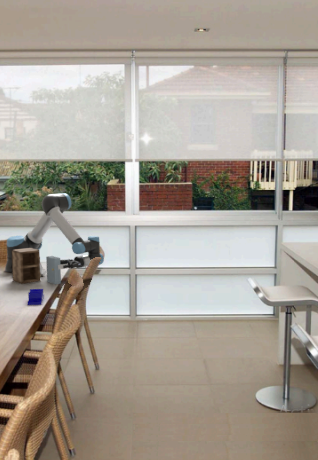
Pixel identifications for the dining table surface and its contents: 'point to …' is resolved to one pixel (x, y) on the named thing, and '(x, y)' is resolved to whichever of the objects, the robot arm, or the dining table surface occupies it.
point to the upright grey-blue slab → (53, 270)
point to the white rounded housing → (42, 270)
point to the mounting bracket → (35, 296)
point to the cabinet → (26, 265)
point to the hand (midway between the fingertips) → (52, 265)
